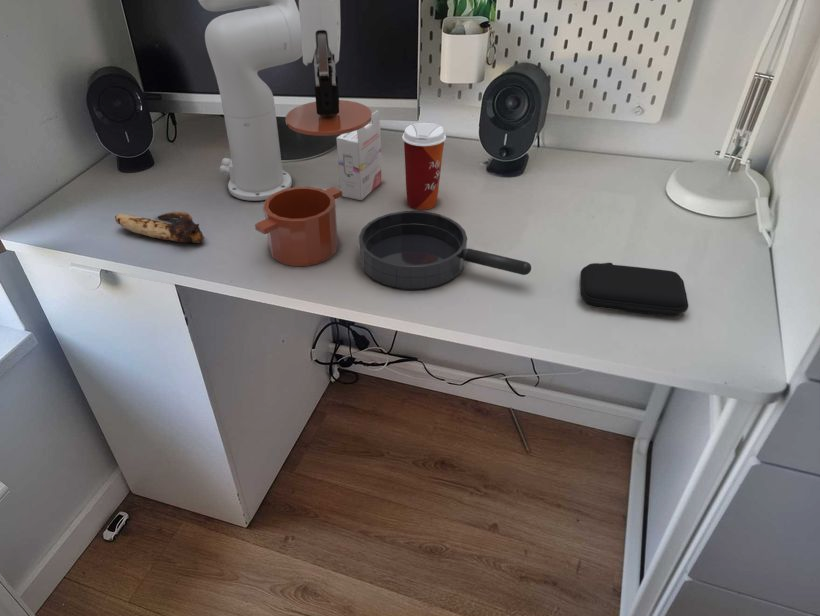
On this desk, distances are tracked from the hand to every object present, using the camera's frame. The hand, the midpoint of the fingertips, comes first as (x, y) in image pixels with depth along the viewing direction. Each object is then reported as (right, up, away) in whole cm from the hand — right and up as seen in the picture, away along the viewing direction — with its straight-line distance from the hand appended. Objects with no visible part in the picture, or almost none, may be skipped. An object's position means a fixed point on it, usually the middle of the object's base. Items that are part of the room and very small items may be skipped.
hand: (328, 108), depth 93 cm
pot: (-5, -17, +17) cm, 25 cm away
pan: (+13, -20, +13) cm, 28 cm away
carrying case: (+45, -27, +4) cm, 53 cm away
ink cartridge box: (+5, -4, +33) cm, 34 cm away
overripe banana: (-30, -14, +23) cm, 41 cm away
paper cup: (+17, -7, +28) cm, 33 cm away
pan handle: (+25, -22, +6) cm, 34 cm away
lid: (0, -1, +1) cm, 2 cm away
